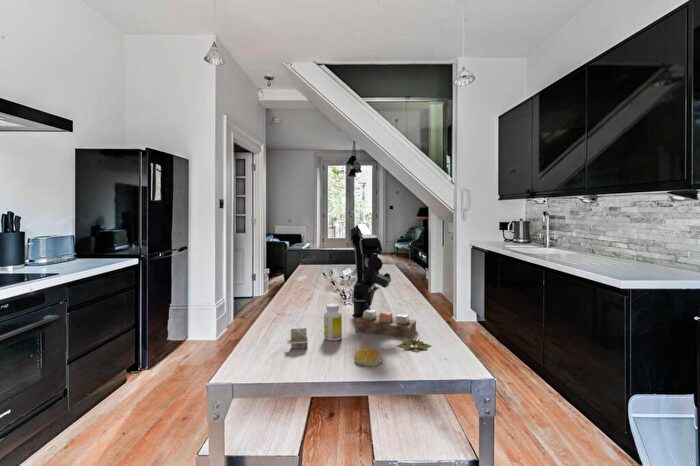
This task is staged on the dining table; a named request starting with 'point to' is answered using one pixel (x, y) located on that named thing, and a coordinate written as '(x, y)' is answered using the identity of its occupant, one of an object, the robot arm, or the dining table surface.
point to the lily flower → (419, 344)
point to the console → (386, 327)
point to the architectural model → (298, 338)
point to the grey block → (402, 319)
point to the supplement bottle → (332, 323)
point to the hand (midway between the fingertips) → (369, 305)
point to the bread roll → (368, 357)
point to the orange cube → (385, 317)
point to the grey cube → (369, 314)
